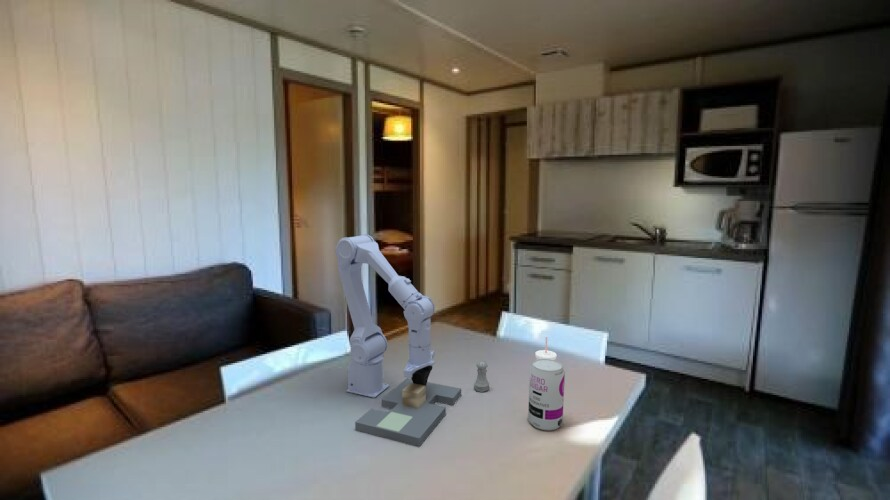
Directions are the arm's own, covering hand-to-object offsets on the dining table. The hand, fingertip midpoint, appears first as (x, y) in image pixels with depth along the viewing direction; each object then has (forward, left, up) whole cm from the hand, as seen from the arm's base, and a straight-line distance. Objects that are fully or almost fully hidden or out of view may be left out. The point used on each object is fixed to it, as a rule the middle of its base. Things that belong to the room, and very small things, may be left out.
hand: (420, 392), depth 115 cm
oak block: (0, -4, -1) cm, 4 cm away
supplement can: (+32, +3, -3) cm, 33 cm away
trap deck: (0, -5, -3) cm, 5 cm away
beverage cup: (+28, +25, -3) cm, 38 cm away
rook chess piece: (+12, +14, -3) cm, 19 cm away
